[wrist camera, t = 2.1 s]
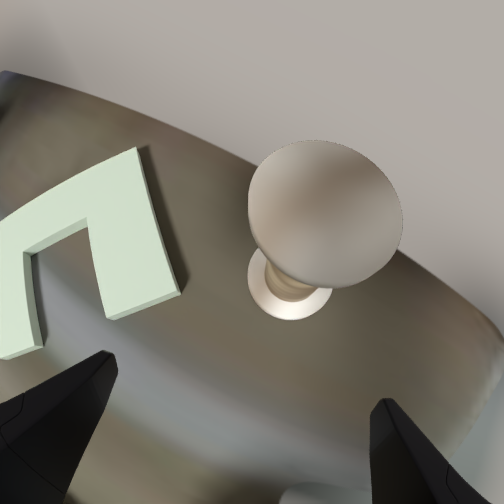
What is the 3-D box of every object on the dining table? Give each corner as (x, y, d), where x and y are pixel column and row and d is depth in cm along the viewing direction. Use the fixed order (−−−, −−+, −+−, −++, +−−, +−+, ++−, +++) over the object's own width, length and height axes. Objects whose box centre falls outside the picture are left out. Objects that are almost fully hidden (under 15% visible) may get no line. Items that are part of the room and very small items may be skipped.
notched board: (181, 294, 23) (176, 290, 21) (7, 359, 19) (-1, 358, 18) (139, 155, 28) (135, 147, 26) (-3, 233, 24) (-10, 228, 23)
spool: (345, 274, 23) (422, 203, 12) (295, 338, 22) (349, 320, 10) (284, 223, 25) (311, 120, 13) (229, 281, 23) (212, 205, 11)
